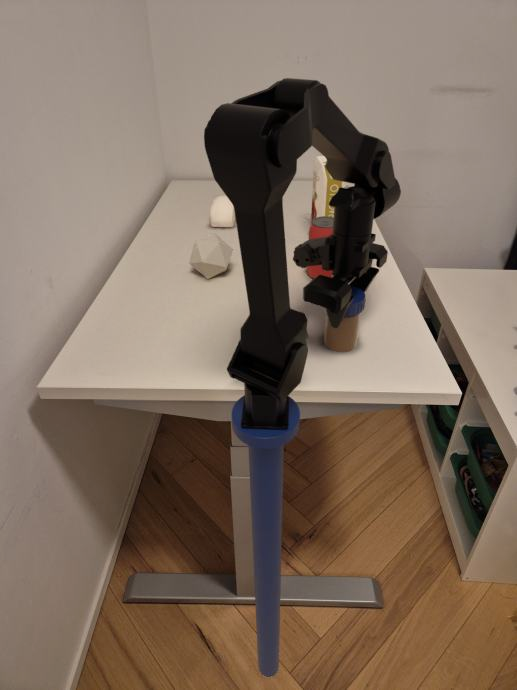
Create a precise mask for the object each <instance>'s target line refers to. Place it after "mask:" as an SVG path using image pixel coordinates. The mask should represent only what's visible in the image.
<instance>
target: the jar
mask: <svg viewBox="0 0 517 690" xmlns="http://www.w3.org/2000/svg"><path fill="white" fill-rule="evenodd" d="M361 313H362V312H361ZM361 313H360V314H358V315H355V316H350V317H344V318H343V320H342V321H341V323H340V325H339V327H338V328H334V327H332V326H331V324H330V321H329V317H328V314H327V311H326V310H325V325H324V336H323V337H324V338H323V339H324V340H323V343H324V346H326V347H327V348H328V349H329V350H330V351H334V352H339V353H347V352H350V351H352V350H354V349H355V348H356V347H357V344H358V337H359V330H360V320H361Z"/></svg>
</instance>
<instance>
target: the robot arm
mask: <svg viewBox="0 0 517 690" xmlns="http://www.w3.org/2000/svg"><path fill="white" fill-rule="evenodd" d="M203 145H204V149H205V154H206V157H207V160H208V163H209V167H210V169H211V170H210V171H211V173H212V176H213V179H214V181H215V182H216V183H217V185H218V186H219V188H220V189H221V190H222V192H223V193H224V196H227V197H228V199H229V200H230V201H231V203H232V204H233V206H234V211H235V218H236V221H235V225H236V231H237V237H238V243H239V244H238V245H239V250H240V258H241V264H242V272H243V277H244V283H245V284H244V285H245V291H246V297H247V304H248V310H249V313H248V316H247V318H246V319H245V321H244V322H243V324H242V325H241V327H240V333H239V334H240V338H239V341H238V343H237V345H236V347H235V349H234V352H233V354H232V356H231V359H230V361H229V363H228V365H227V367H226V371H227V374H228V376H229V377H230V378H231V379H233V380H234V379H235V380H237V381H239V382H241V383H243V386H244V395H245V396H244V395H243V396H244V404H243V412H242V419H241V427H242V428H243V429H264V430H287V429H288V428H289V397H290V394H292V392H293V391H294V390H295V389H296V388H298V386H300V384H301V382H302V379H303V375H304V370H305V367H306V362H307V359H308V353H309V347H308V341H307V340H308V339H309V338H310V336H309V334H308V317H307V314H306V313H305V312H302V311H299V310H296V309H293V308H291V302H290V290H289V289H290V285H289V274H288V273H289V272H288V260H287V247H286V232H285V217H284V205H283V197H284V195H285V194H286V192H287V190H288V188H289V186H290V185H291V183H292V181H293V180H294V178H295V176H296V174H297V169H298V159H299V158H301V157H302V156H303V155H304V154H305V153H306V152H307V151H308V150H309V149H310V148H311V147H313V148H314V149H315V150H316V151H317V152H319V153H320V154H321V156H325V158H326V159H327V161H326V164H325V168H326V169H327V171H328V172H329V174H330V175H331V177H332V178H333V179H334V180H337V181H342V182H347V183H349V184H352V186H349V187H348V188H342V187H340V188H339V190H338V192H337V193H336V194H335V195H334V196H333V197H332V198H331V200H330V202H329V206H332V207H334V219H333V231H332V234H331V235H330V236H329V237H322V238H315V239H310V240H309V239H307V240H305V241H304V242H303V243H300V244H298V245H297V246H295V248H294V250H293V257H292V261H293V263H295V265H296V266H297V267H299V268H301V269H307V266H317V265H322V270H326V271H329V270H332V271H333V273H332V274H331V276H332V277H333V278H330V277H327V276H323V275H318V276H317V277H315V278H312V280H310V281H309V282H308V283H307V284H306V285H305V286H303V288H302V300H303V302H305V303H308V304H312V305H314V306H318V307H321V308H325V312H326V311H327V314H328V317H329V321H330V324H331V326H332V327H334V328H338V327H339V325H340V323H341V321H342V320H343V318H344V316H345V314H346V312H347V310H348V309H349V307H350V305H351V303H352V301H353V299H354V297H353V296H351V291H352V289H351V287H350V286H349V285H351V286H355V287H358V288H360V289H361V290H363V291H364V293H365V294H366V292H367V291H368V290H369V287H370V286H371V285H372V283H373V282H374V280H375V278H377V275H378V274H379V273H380V269H381V268H382V267H383V266H384V265H385V264H386V263H387V260H388V254H389V252H388V250H387V248H386V247H385V245H383V244H379V243H374V242H376V238H377V237H376V236H377V234H376V233H372V232H373V225H374V220H375V219H377V218H379V217H380V216H382V215H383V214H385V213H386V212H388V211H389V210H390V209H391V208H392V207H393V206H395V205H396V204H397V203H398V201H400V197H401V194H402V190H401V185H400V183H399V181H398V180H397V178H396V176H395V170H394V165H393V160H392V155H391V152H390V150H389V146H388V143H387V142H386V141H385V140H383V139H380V138H379V137H375V136H372V135H369V134H366V133H364V132H361V131H359V130H358V128H357V127H356V126H355V124H353V123H352V122H351V120H350V119H349V118H348V117H347V115H346V114H345V113H344V112H343V110H341V108H340V107H339V106H338V105H337V104H336V103H335V101H334V100H333V99H332V98H331V96H329V90H328V87H327V85H326V84H324V83H321V81H319V80H317V79H305V78H291V77H286V78H282V79H281V80H278V81H276V82H274V83H273V84H271V85H270V86H268V88H265V89H262V90H259V91H257V92H253V93H251V94H248V95H245V96H242V97H240V98H237V99H235V100H233V101H232V102H231V103H229V102H227V103H222V104H221V105H219V106H218V107H217V108H216V109H215V110H214V112H212V115H211V116H210V119H209V120H208V121H207V124H206V126H205V128H204V131H203ZM353 184H354V185H353ZM373 260H376V263H375V266H376V267H374V266H372V265H373ZM288 396H289V397H288ZM284 426H286V427H284Z"/></svg>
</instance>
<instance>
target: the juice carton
mask: <svg viewBox="0 0 517 690" xmlns="http://www.w3.org/2000/svg"><path fill="white" fill-rule="evenodd" d="M326 161H327V159H326V158H325V156H323V155H318V156H317V155H316V157H315V162H314V166H313V174H312V175H313V176H312V192H311V215H310V226H311V225H312V220H313V219H314V218H317V217H321V216H329V217H334V207H332V206H329V202H330V200H331V198H332V197H333V196H334V195H335V194H336V193H337V192H338V190H339V188H340V187H342V188H348V187H350V183H347V182H342V181H337V180H334V179H333V178H332V177H331V175H330V174H329V172H328V171H327V169H326V168H325V164H326Z"/></svg>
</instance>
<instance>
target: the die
mask: <svg viewBox="0 0 517 690" xmlns="http://www.w3.org/2000/svg"><path fill="white" fill-rule="evenodd" d="M191 250H192V251H191V254H190V258H189V261H188V264H190V266H192V267H193V268H194V269H195V270H196V271H197V272H199V273H200V274H201V275H202V276H203V277H205V278H206V279H207V280H209V279H211V278H213V277H217V276H218V275H220V274H223V273H224V272H225V273H226V272H227V268H228V266H229V263H230V261H231V257H232V254H233V251H234V248H233V247H231V246H230V245H229V244H228V243H227V242H226V241H225V240H223V239H222V238H221V237H220V236H219V235H218V234H217V233H215V232H214V233H211V234H209V235H207V236H206V235H205V236H203V237H201V238H197V239H196V240H194V244H193V247H192V249H191Z"/></svg>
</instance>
